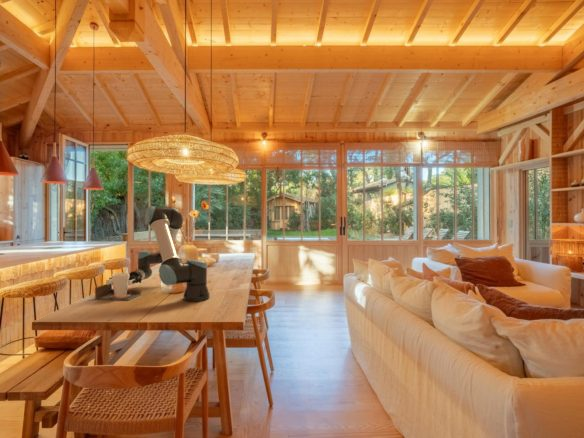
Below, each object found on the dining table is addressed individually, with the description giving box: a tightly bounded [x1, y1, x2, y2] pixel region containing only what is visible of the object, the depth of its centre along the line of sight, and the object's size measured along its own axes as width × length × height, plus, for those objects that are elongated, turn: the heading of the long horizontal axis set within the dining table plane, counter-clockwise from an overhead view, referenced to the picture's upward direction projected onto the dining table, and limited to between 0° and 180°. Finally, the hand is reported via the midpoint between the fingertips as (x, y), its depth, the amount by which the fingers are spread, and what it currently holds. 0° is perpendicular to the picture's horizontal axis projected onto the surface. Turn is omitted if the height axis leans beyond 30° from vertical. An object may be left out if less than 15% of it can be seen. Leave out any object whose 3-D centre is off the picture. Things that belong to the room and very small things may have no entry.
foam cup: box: [111, 272, 130, 297], centre depth 199 cm, size 10×9×13 cm
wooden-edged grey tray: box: [94, 283, 142, 302], centre depth 199 cm, size 20×14×7 cm
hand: (117, 282), depth 196 cm, fingers open, 13 cm apart
